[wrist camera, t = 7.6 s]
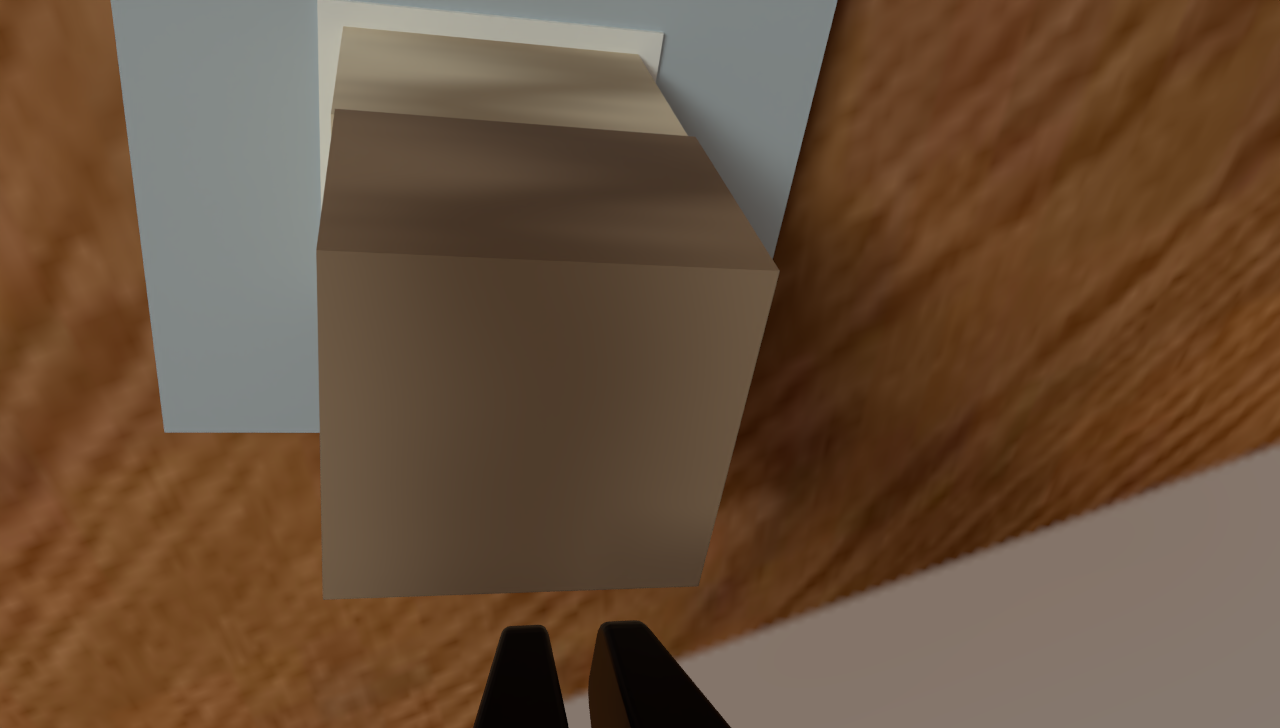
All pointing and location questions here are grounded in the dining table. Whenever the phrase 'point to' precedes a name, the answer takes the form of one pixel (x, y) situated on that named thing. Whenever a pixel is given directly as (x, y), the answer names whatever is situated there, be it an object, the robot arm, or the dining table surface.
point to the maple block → (498, 82)
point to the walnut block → (527, 355)
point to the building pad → (300, 142)
